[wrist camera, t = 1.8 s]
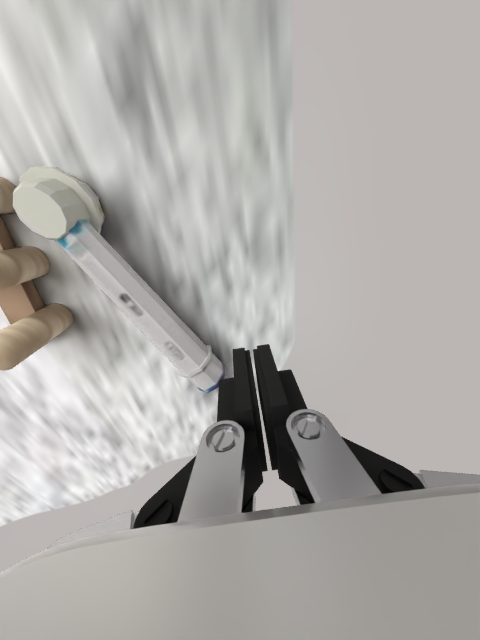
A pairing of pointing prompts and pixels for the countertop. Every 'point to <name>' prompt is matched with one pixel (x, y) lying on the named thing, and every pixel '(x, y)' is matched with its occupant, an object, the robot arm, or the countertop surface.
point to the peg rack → (24, 295)
